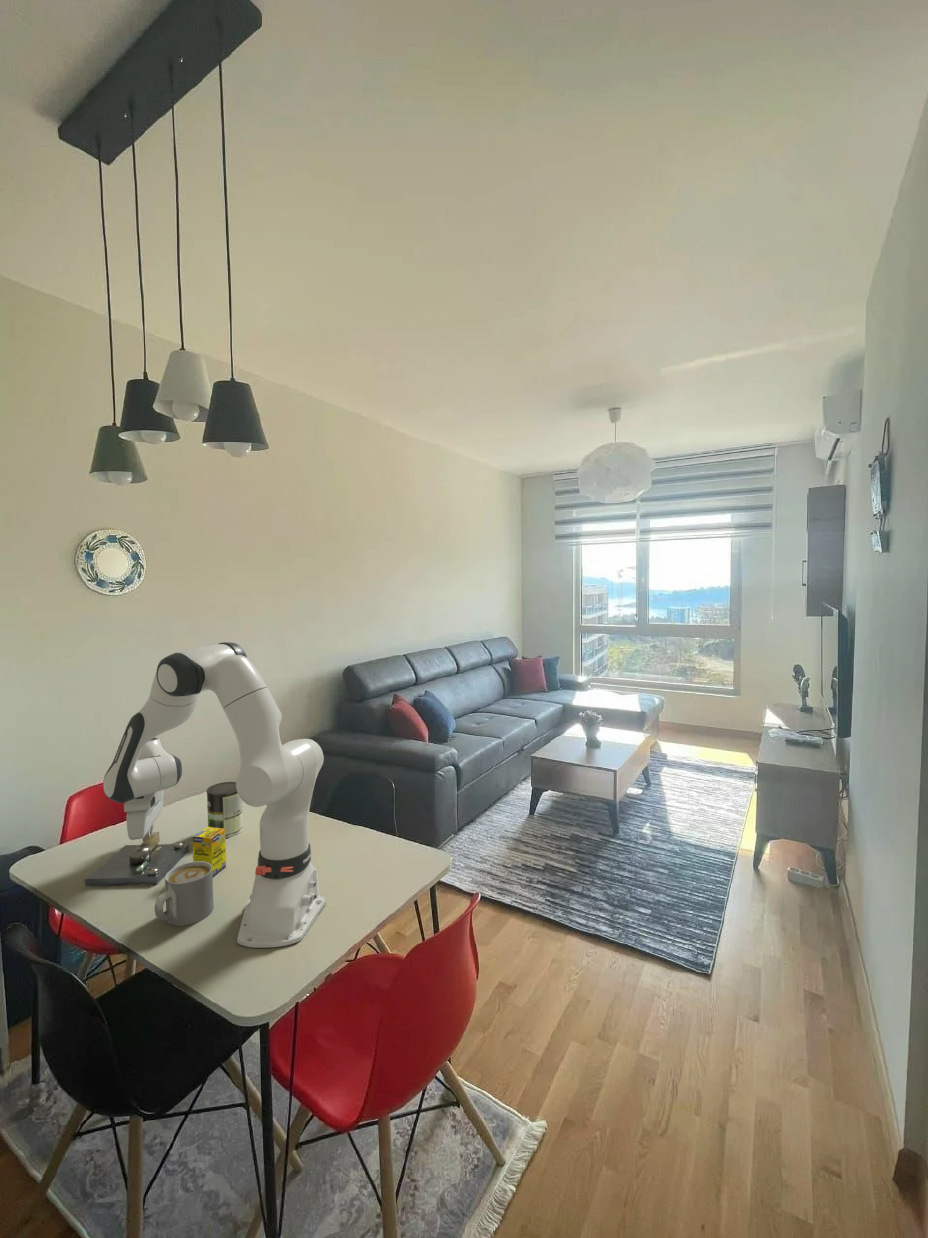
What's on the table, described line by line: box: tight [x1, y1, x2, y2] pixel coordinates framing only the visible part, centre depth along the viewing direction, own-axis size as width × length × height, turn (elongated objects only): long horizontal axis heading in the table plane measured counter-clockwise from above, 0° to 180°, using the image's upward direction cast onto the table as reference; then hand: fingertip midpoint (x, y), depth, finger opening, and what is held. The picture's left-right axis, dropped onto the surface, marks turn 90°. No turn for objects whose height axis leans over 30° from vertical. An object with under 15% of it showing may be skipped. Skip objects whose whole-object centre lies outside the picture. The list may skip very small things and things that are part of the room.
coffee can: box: [206, 781, 244, 839], centre depth 170 cm, size 10×10×14 cm
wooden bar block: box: [129, 831, 161, 864], centre depth 152 cm, size 12×5×3 cm, turn 7°
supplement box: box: [192, 826, 227, 878], centre depth 146 cm, size 6×6×11 cm
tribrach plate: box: [84, 841, 190, 888], centre depth 148 cm, size 18×18×3 cm
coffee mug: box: [154, 861, 214, 927], centre depth 126 cm, size 13×10×10 cm
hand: (147, 840), depth 156 cm, fingers closed, pressing on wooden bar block
